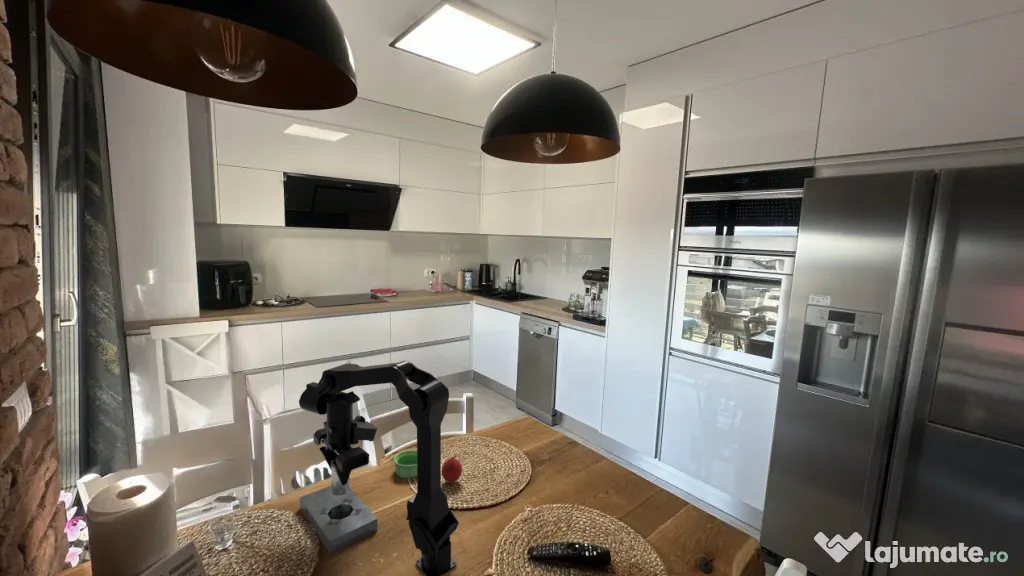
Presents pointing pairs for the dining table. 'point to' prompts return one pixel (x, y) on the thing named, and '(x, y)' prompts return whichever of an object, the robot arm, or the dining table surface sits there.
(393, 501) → the dining table surface
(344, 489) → the metal cylinder peg
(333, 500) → the jig
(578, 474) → the dining table surface
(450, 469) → the onion
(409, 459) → the ramekin
